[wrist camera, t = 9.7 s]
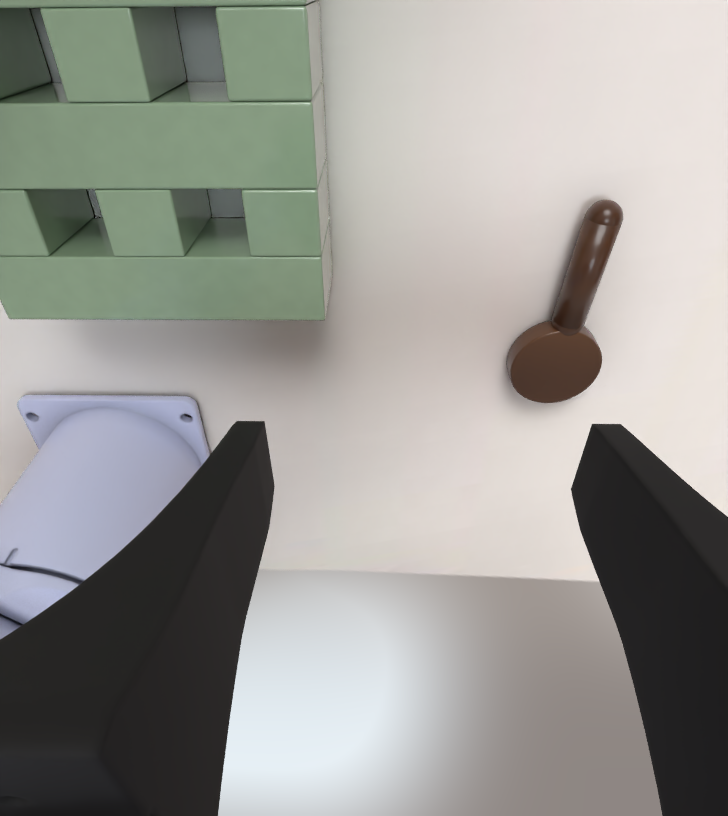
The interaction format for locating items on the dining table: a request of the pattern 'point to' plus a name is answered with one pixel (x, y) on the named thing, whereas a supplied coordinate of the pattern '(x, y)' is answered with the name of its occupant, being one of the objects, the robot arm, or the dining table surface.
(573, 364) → the walnut spoon
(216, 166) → the utensil stand
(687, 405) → the dining table surface
